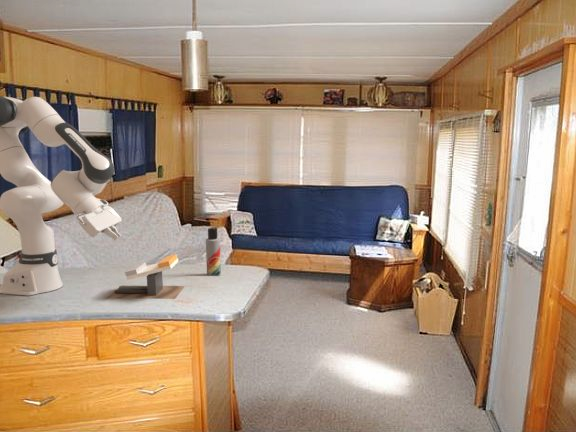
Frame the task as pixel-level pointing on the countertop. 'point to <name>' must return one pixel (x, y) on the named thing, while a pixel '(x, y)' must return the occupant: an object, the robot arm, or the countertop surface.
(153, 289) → the block
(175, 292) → the mounting board
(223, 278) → the countertop surface
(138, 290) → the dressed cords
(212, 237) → the lotion bottle
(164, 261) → the block
